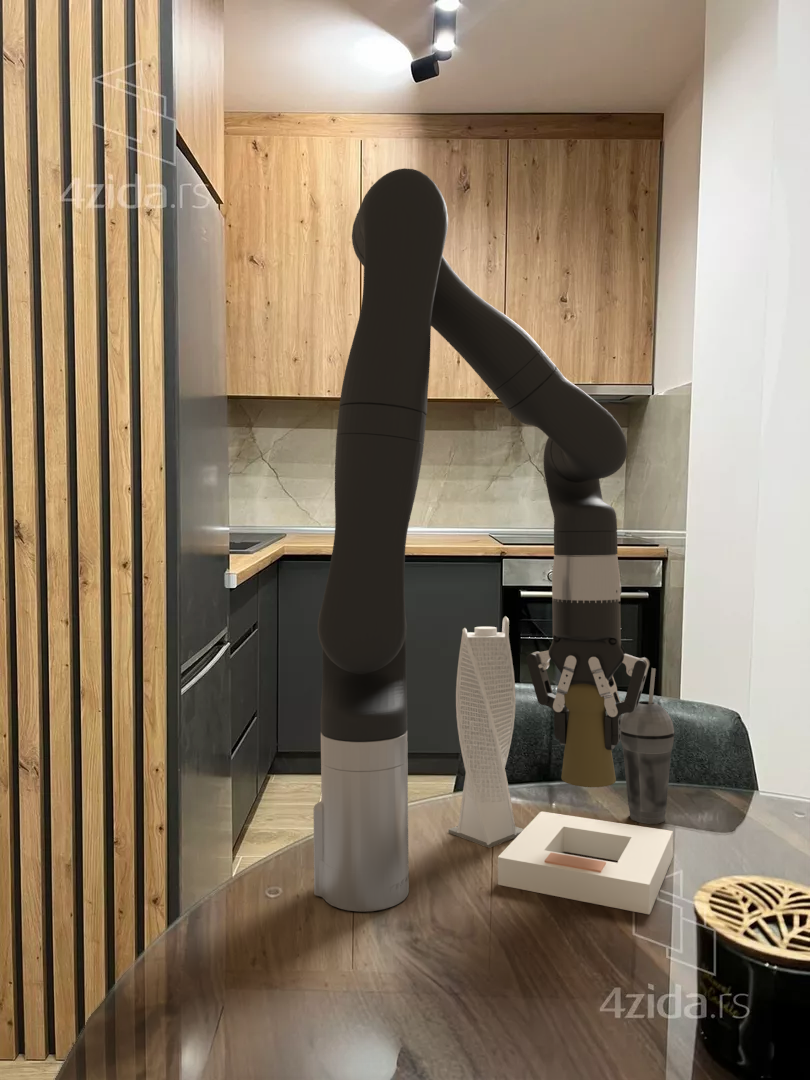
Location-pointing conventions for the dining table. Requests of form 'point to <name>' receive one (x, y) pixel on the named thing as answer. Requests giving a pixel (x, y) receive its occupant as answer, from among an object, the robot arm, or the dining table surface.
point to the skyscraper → (485, 734)
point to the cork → (586, 739)
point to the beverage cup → (647, 758)
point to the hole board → (588, 861)
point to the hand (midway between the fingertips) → (587, 745)
